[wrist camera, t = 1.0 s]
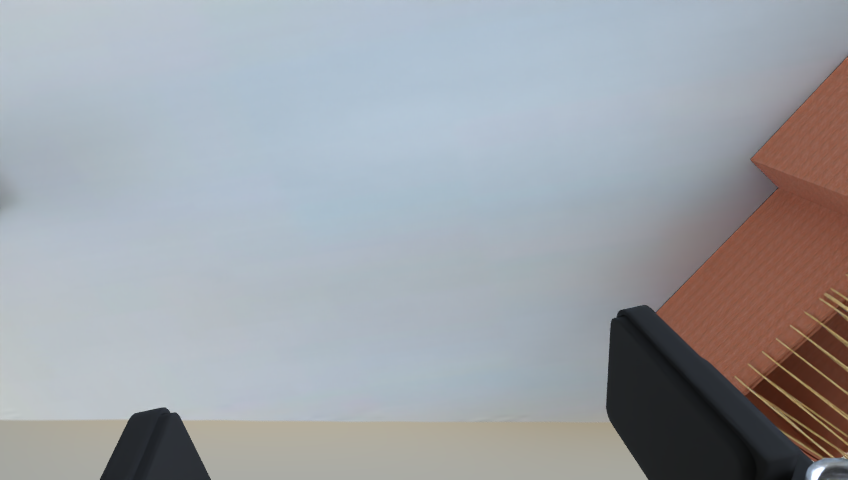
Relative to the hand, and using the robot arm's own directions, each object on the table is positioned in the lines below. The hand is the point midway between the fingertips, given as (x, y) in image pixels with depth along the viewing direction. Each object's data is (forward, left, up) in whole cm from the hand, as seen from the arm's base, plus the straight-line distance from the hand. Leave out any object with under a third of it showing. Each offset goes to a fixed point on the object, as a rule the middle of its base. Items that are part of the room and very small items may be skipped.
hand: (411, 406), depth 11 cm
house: (+23, +35, -27) cm, 50 cm away
